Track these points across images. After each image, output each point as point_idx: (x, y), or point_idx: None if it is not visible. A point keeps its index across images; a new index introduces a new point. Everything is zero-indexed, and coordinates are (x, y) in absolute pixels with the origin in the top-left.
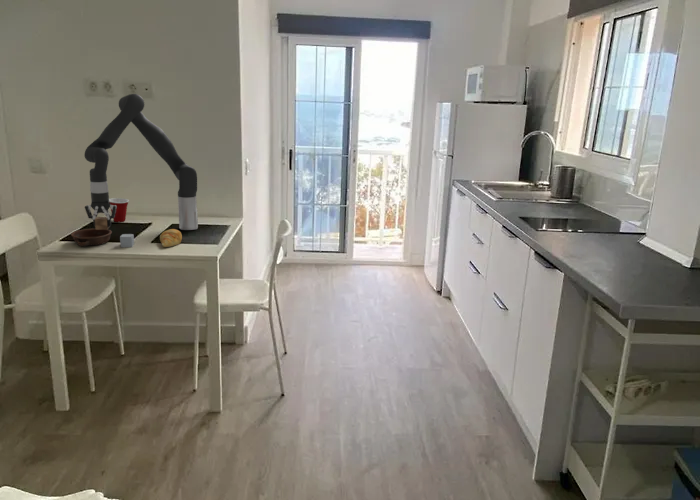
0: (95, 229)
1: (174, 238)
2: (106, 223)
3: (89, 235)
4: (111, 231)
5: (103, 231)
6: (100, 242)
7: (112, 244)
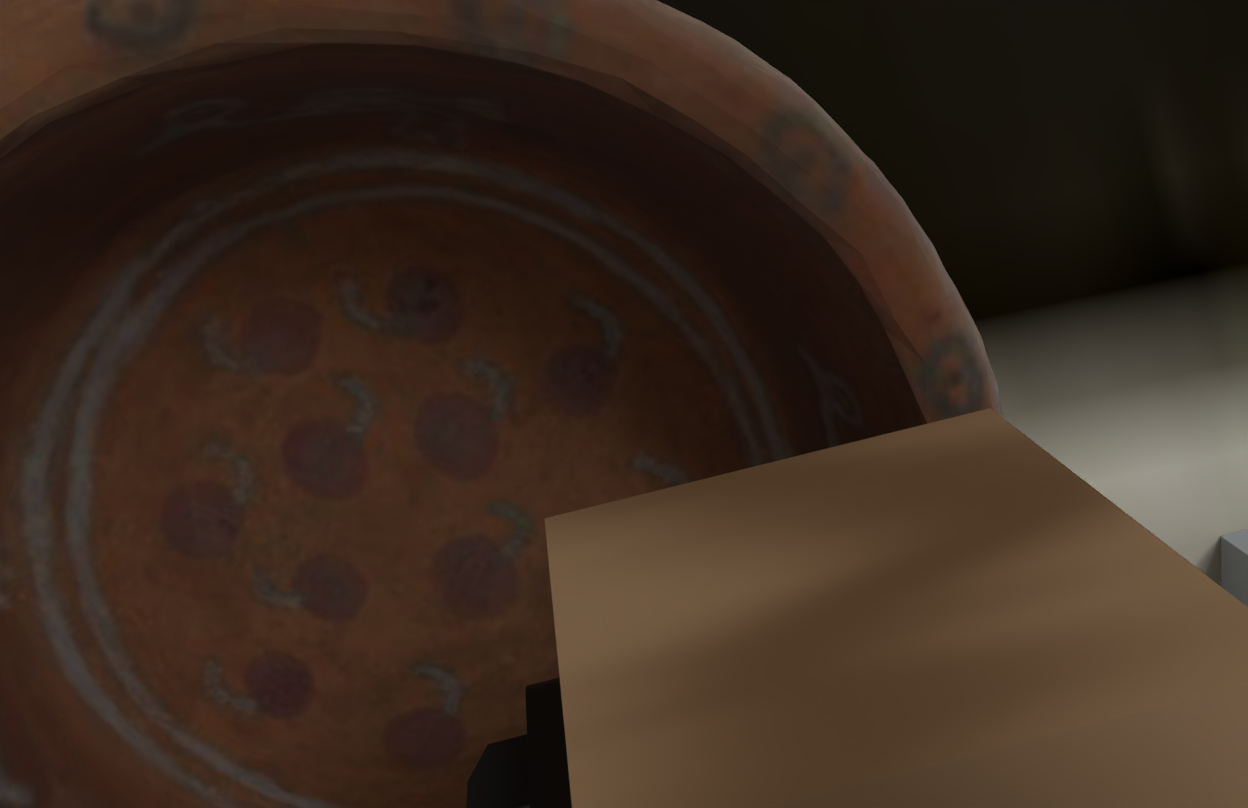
0: (182, 80)
1: None
2: None
3: (92, 226)
4: (963, 328)
5: (541, 100)
6: None
7: None
